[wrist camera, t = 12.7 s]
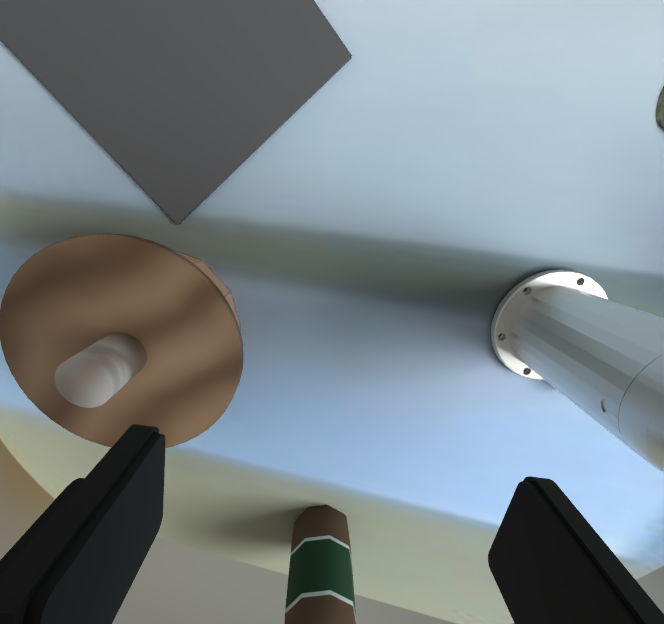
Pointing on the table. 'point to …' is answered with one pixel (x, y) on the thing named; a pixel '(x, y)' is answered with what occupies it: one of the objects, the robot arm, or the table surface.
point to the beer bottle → (320, 570)
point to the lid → (121, 339)
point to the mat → (176, 79)
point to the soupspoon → (660, 109)
